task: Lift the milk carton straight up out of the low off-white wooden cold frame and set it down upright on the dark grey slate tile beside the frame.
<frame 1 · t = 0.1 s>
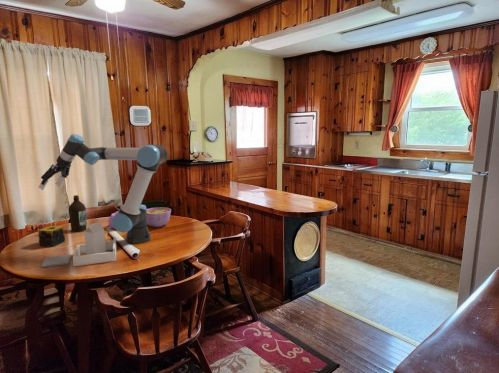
hand: (49, 186, 192), 36 cm above the table, tool tilted 35°, fingers open, 13 cm apart
milk carton: (96, 257, 177), resting in cold frame
cold frame: (96, 256, 177), on the table
bowl of food: (157, 225, 237), on the table
slate tile: (57, 261, 170), on the table
olive oil: (79, 230, 225), on the table
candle: (52, 244, 198), on the table
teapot: (118, 228, 232), on the table
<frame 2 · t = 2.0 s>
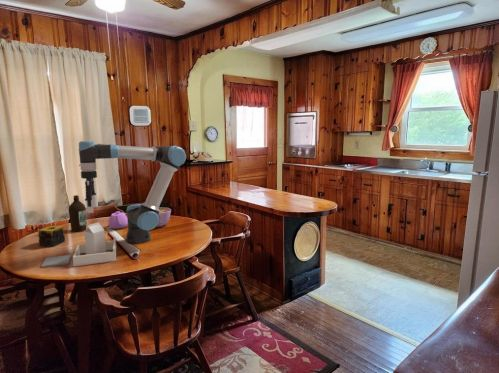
hand: (91, 209, 172), 27 cm above the table, tool pointing down, fingers open, 13 cm apart
nothing on the table moved.
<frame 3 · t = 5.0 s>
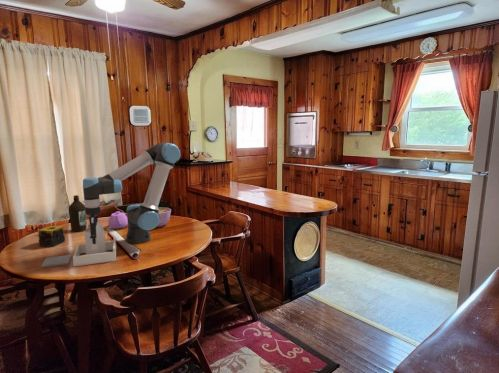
hand: (95, 246, 176), 6 cm above the table, tool pointing down, fingers closed on milk carton, 10 cm apart
milk carton: (96, 257, 177), resting in cold frame, touching gripper
everything else where it was.
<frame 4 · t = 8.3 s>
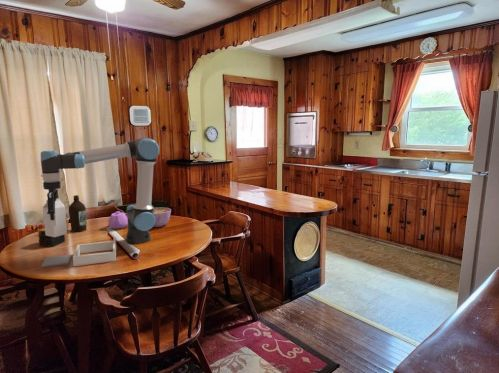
hand: (55, 223, 167), 21 cm above the table, tool pointing down, fingers closed on milk carton, 10 cm apart
milk carton: (56, 235, 168), point 15 cm above the table, touching gripper
everything else where it was.
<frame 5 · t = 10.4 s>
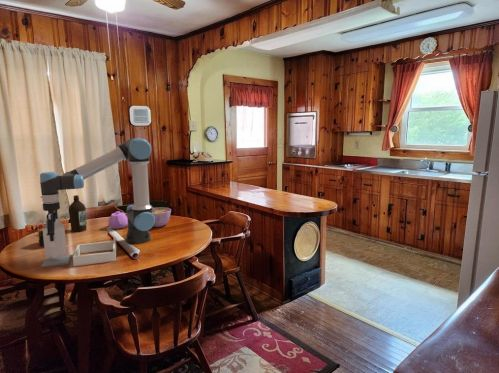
hand: (55, 243, 168), 10 cm above the table, tool pointing down, fingers closed on milk carton, 10 cm apart
milk carton: (56, 255, 169), point 4 cm above the table, touching gripper
everything else where it was.
when the fingers open (8 cm above the table, at t = 11.8 s): milk carton stays where it is, resting on slate tile.
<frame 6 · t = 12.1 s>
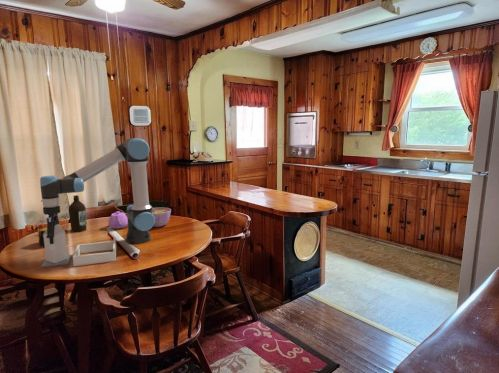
hand: (55, 245, 168), 9 cm above the table, tool pointing down, fingers open, 13 cm apart
milk carton: (57, 260, 169), point 1 cm above the table, touching slate tile
everything else where it was.
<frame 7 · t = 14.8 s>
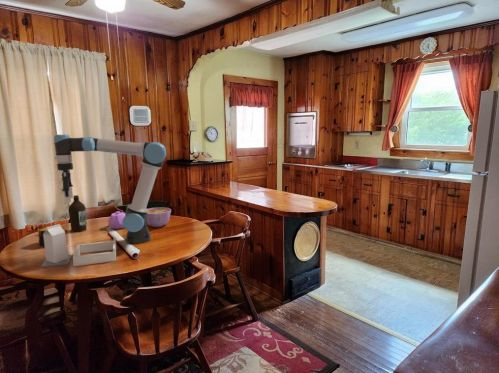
hand: (69, 200, 180), 30 cm above the table, tool pointing down, fingers open, 13 cm apart
nothing on the table moved.
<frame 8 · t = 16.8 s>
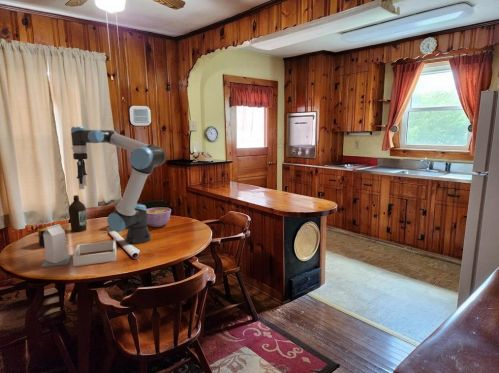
hand: (83, 187, 196), 35 cm above the table, tool pointing down, fingers open, 13 cm apart
nothing on the table moved.
at the end: milk carton inside the target area on the slate tile (0.3 cm from its centre), point 0.8 cm above the slate tile's base; milk carton tilted 0°; the gripper is holding nothing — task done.
